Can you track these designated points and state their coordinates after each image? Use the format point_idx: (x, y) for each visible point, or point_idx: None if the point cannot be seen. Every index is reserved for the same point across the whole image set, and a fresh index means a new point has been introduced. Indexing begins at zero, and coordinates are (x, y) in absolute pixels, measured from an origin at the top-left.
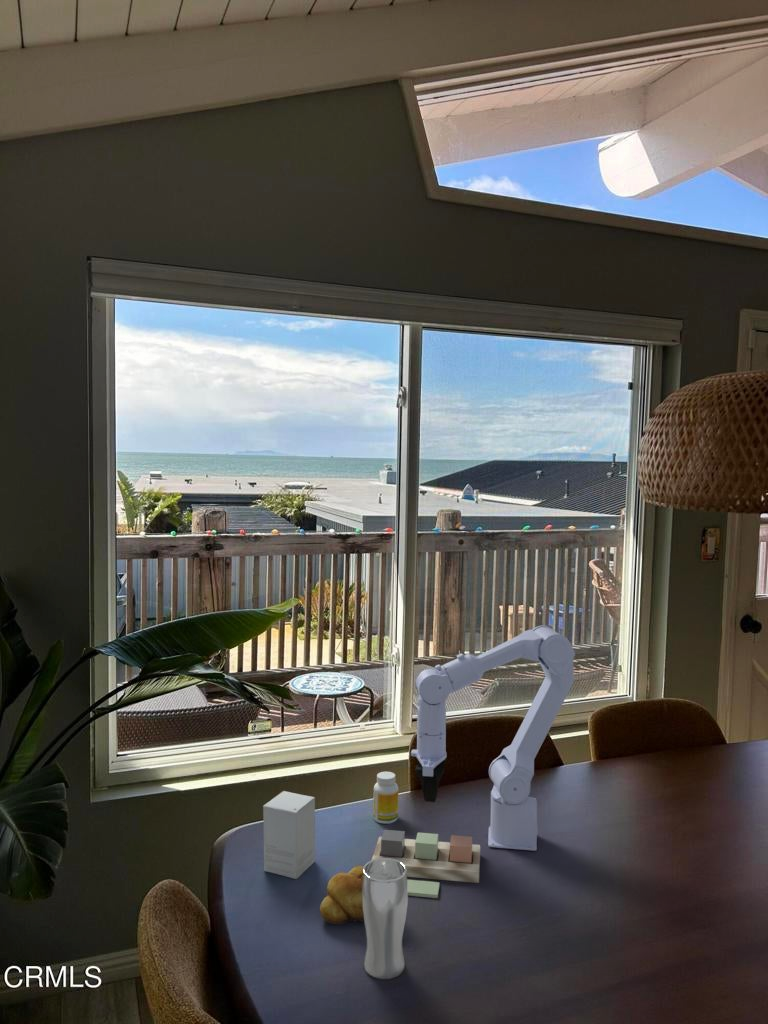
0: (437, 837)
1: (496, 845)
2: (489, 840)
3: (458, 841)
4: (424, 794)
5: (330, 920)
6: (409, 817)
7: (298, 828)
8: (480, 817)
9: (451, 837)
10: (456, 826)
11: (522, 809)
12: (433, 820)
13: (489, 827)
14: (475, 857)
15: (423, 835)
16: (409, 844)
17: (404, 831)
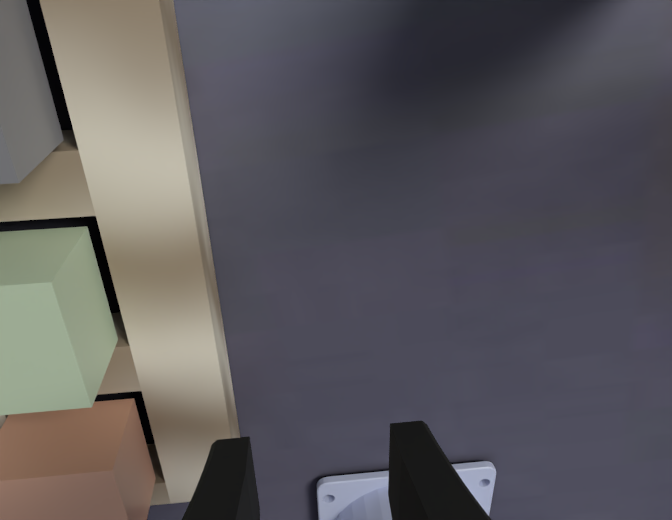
0: (38, 411)
1: (320, 508)
2: (358, 484)
3: (46, 512)
4: (194, 505)
5: None
6: (633, 56)
7: None
8: (607, 415)
9: (82, 475)
10: (512, 334)
11: None
12: (584, 214)
13: (483, 470)
14: None
15: (23, 328)
16: (107, 168)
17: (14, 181)
